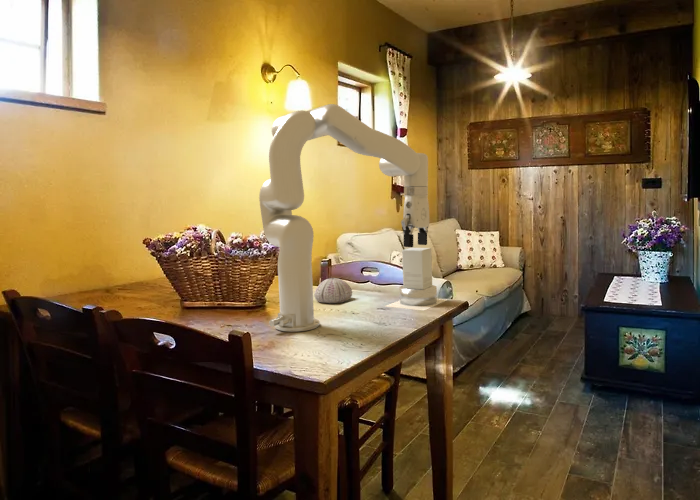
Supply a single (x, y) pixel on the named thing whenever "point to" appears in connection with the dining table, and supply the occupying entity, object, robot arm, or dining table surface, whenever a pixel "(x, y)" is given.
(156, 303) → the dining table surface
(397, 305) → the base board
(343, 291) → the sea urchin shell
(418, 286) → the supplement box
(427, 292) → the round metal tin
